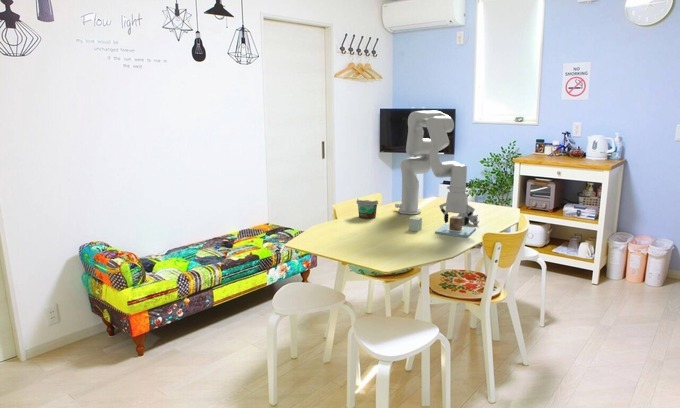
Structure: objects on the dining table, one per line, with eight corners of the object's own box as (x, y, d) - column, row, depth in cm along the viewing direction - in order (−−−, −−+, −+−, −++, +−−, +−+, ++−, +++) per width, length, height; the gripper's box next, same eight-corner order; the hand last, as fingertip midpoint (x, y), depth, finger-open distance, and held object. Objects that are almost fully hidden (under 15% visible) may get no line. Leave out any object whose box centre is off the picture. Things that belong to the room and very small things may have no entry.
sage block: (408, 230, 252) (408, 218, 250) (412, 227, 256) (412, 216, 255) (418, 231, 249) (418, 219, 248) (421, 229, 254) (421, 217, 252)
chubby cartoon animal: (471, 231, 260) (477, 217, 256) (453, 218, 267) (459, 205, 262) (478, 228, 264) (485, 215, 260) (461, 216, 271) (467, 203, 267)
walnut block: (449, 229, 248) (449, 217, 246) (452, 227, 252) (452, 215, 251) (459, 231, 245) (459, 219, 244) (462, 228, 250) (462, 217, 248)
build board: (434, 233, 246) (435, 230, 246) (444, 225, 259) (444, 223, 259) (467, 237, 238) (467, 235, 238) (475, 229, 252) (475, 227, 252)
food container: (353, 218, 275) (353, 200, 273) (357, 215, 280) (357, 198, 278) (374, 220, 270) (374, 202, 268) (378, 218, 276) (378, 200, 274)
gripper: (438, 189, 245) (436, 223, 249) (473, 192, 237) (471, 227, 241) (442, 186, 252) (441, 219, 255) (477, 189, 243) (475, 224, 247)
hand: (456, 223), depth 248 cm, fingers open, 9 cm apart
